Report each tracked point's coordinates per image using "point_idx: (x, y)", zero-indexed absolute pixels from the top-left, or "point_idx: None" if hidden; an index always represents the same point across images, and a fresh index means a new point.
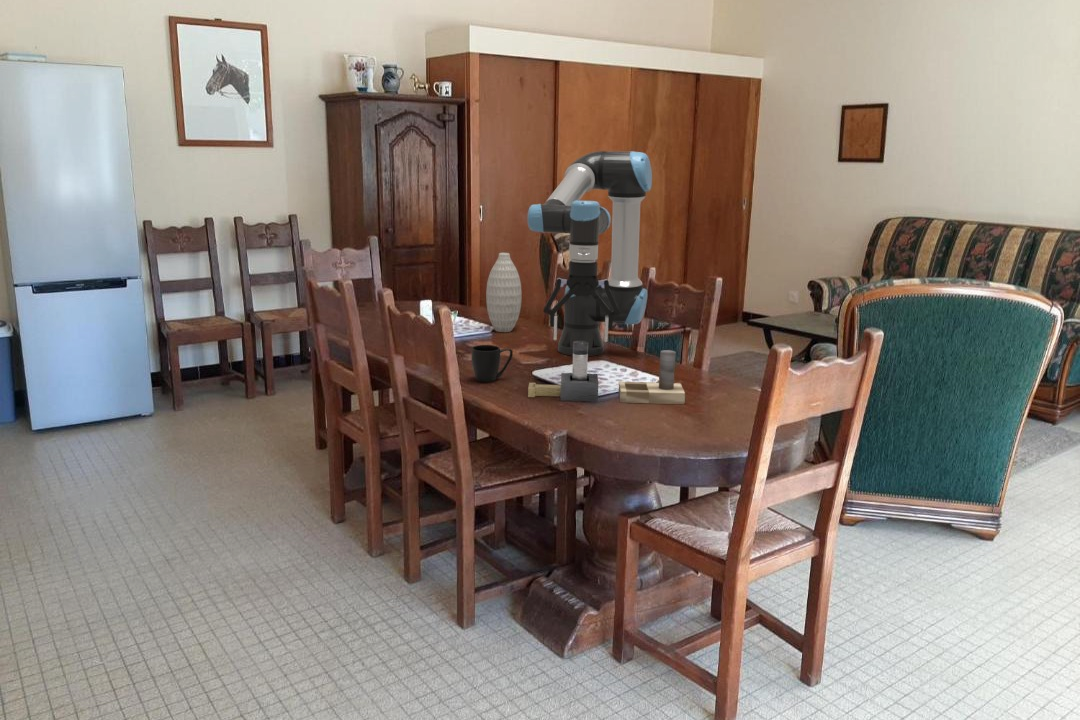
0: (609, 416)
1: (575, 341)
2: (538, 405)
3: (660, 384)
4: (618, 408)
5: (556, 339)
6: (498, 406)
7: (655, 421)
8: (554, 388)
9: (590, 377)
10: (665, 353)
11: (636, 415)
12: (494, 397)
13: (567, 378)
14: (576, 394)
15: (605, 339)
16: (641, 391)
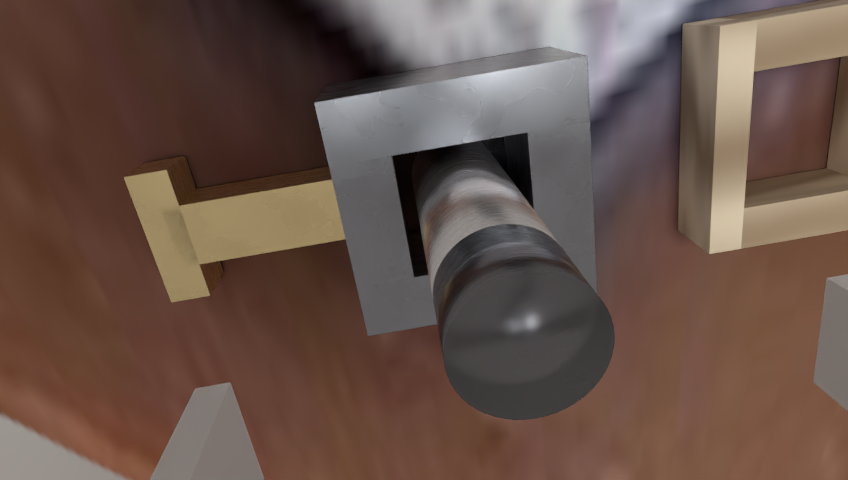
0: (616, 428)
1: (464, 327)
2: (284, 377)
3: None
4: (661, 320)
5: (258, 469)
6: (109, 436)
7: (797, 433)
8: (316, 243)
9: (540, 168)
10: None
11: (732, 388)
12: (16, 320)
13: (389, 236)
14: None
15: (840, 394)
16: (828, 218)
